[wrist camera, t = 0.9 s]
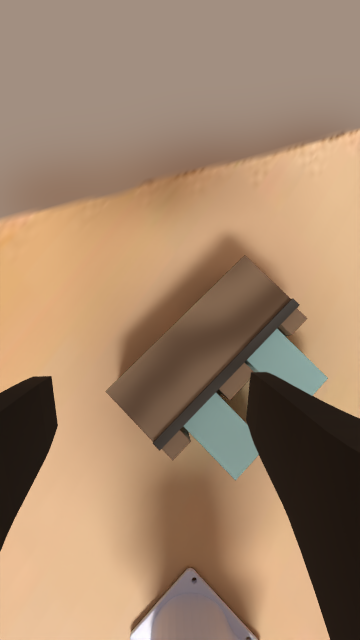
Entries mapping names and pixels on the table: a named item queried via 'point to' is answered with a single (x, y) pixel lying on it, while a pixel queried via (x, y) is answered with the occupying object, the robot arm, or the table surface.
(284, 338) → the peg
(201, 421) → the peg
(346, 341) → the table surface
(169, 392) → the sleeve block
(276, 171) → the table surface
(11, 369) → the table surface
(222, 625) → the robot arm
